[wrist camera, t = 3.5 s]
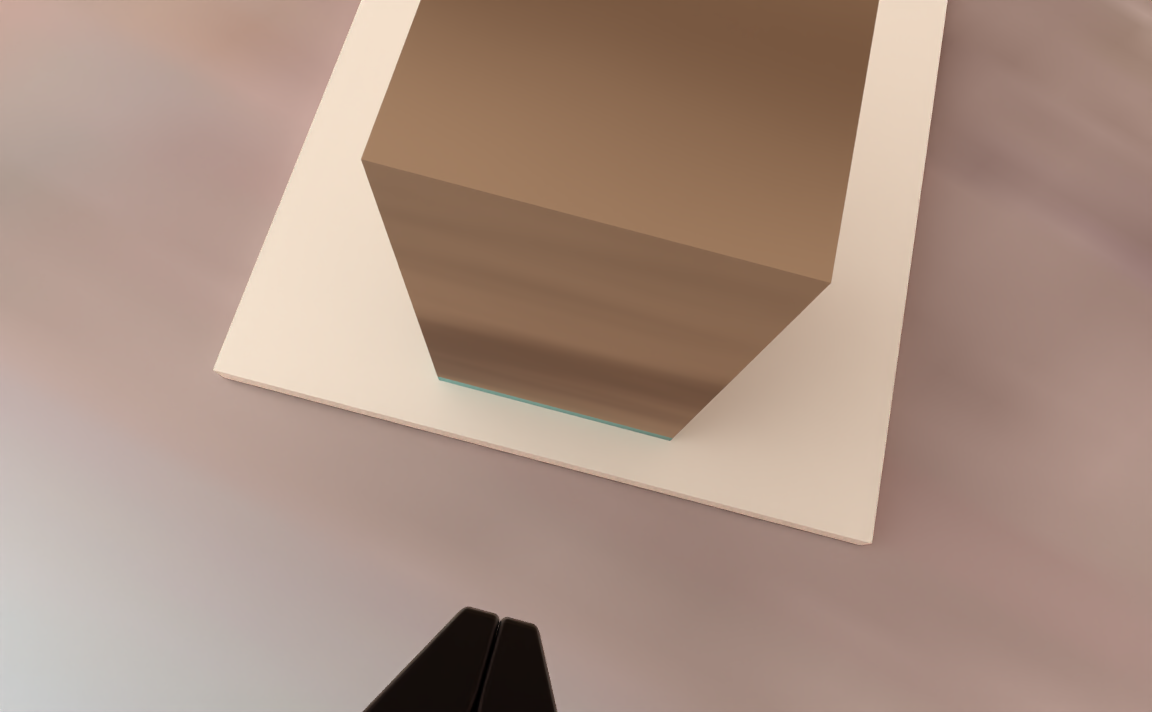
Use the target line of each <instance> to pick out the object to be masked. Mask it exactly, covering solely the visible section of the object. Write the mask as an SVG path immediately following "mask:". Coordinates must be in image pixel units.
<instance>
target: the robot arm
mask: <svg viewBox="0 0 1152 712" xmlns="http://www.w3.org/2000/svg"><path fill="white" fill-rule="evenodd" d="M498 626H499V627H498ZM497 629H498V630H497ZM496 633H497V634H496ZM363 712H557V708H556V704H555V699H554V695H553V690H552V686H551V682H550V677H549V673H548V668H547V664H546V659H545V655H544V650H543V646H542V641H541V637H540V633H539V630H538V628H537V626H536V625H534V624H532V623H528V622H524V621H521V620H517V619H513V618H509V617H505V618H503V619H502V620H501V621H500V623H499V617H498V616H497V615H496V614H494V613H491V612H487V611H483V610H480V609H476V608H472V607H465V608H463V609H462V610H460V611H459V612H458V613H457V614H456V615H455V616H454V617H453V618H452V619H451V621H450V622H449V623H448V624H447V625H446V626H445V627H444V628H443V629H442V630H441V631H440V632H439V633H438V634H437V635H436V636H435V637H434V638H433V639H432V640H431V641H430V642H429V643H428V644H427V645H426V646H425V647H424V649H423V650H422V651H421V652H420V653H419V654H418V655H417V656H416V657H415V658H414V659H413V660H412V661H411V662H410V663H409V664H408V665H407V666H406V667H405V668H404V669H403V670H402V671H401V672H400V673H399V674H398V675H397V676H396V678H395V679H394V680H393V681H392V682H391V683H390V684H389V685H388V686H387V687H386V688H385V689H384V690H383V691H382V692H381V693H380V694H379V695H378V696H377V697H376V698H375V699H374V700H373V701H372V702H371V703H370V704H369V706H368V707H367V708H366V709H365V710H364V711H363Z"/></svg>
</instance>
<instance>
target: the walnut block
mask: <svg viewBox="0 0 1152 712" xmlns="http://www.w3.org/2000/svg"><path fill="white" fill-rule="evenodd" d="M878 4H879V0H420V3H419V6H418V8H417V11H416V14H415V16H414V19H413V22H412V24H411V27H410V30H409V32H408V35H407V38H406V40H405V43H404V46H403V48H402V51H401V54H400V56H399V59H398V62H397V64H396V67H395V70H394V72H393V75H392V78H391V80H390V83H389V86H388V88H387V91H386V94H385V96H384V99H383V102H382V104H381V107H380V110H379V112H378V115H377V118H376V120H375V123H374V126H373V128H372V131H371V134H370V136H369V139H368V142H367V144H366V147H365V149H364V152H363V155H362V157H361V161H362V164H363V167H364V170H365V172H366V175H367V178H368V181H369V184H370V187H371V189H372V192H373V195H374V198H375V201H376V204H377V206H378V209H379V212H380V215H381V218H382V221H383V223H384V226H385V229H386V232H387V235H388V238H389V240H390V243H391V246H392V249H393V252H394V255H395V257H396V260H397V263H398V266H399V269H400V272H401V274H402V277H403V280H404V283H405V286H406V289H407V291H408V294H409V297H410V300H411V303H412V306H413V308H414V311H415V314H416V317H417V320H418V323H419V325H420V328H421V331H422V334H423V337H424V340H425V342H426V345H427V348H428V351H429V354H430V357H431V359H432V362H433V365H434V368H435V371H436V374H437V376H438V379H439V380H440V381H444V382H448V383H452V384H456V385H459V386H463V387H467V388H471V389H475V390H478V391H482V392H486V393H490V394H494V395H497V396H501V397H505V398H509V399H513V400H516V401H520V402H524V403H528V404H532V405H535V406H539V407H543V408H547V409H551V410H554V411H558V412H562V413H566V414H569V415H573V416H577V417H581V418H585V419H588V420H592V421H596V422H600V423H604V424H607V425H611V426H615V427H619V428H623V429H626V430H630V431H634V432H638V433H642V434H645V435H649V436H653V437H657V438H661V439H664V440H668V441H671V440H672V439H673V438H674V437H675V436H676V435H677V434H678V433H679V432H680V431H681V430H682V429H683V428H684V427H685V426H686V425H687V424H688V423H689V422H690V421H691V420H692V419H693V418H694V417H695V416H696V415H697V414H698V413H699V412H700V411H701V410H702V409H703V408H704V407H705V406H706V405H707V404H708V403H709V402H710V401H711V400H712V399H713V398H714V397H715V396H716V395H717V394H719V393H720V392H721V391H722V390H723V389H724V388H725V387H726V386H727V385H728V384H729V383H730V382H731V381H732V380H733V379H734V378H735V377H736V376H737V375H738V374H739V373H740V372H741V371H742V370H743V369H744V368H745V367H746V366H747V365H748V364H749V363H750V362H751V361H752V360H753V359H754V358H755V357H756V356H757V355H758V354H759V353H760V352H761V351H762V350H763V349H764V348H765V347H766V346H767V345H768V344H769V343H770V342H772V341H773V340H774V339H775V338H776V337H777V336H778V335H779V334H780V333H781V332H782V331H783V330H784V329H785V328H786V327H787V326H788V325H789V324H790V323H791V322H792V321H793V320H794V319H795V318H796V317H797V316H798V315H799V314H800V313H801V312H802V311H803V310H804V309H805V308H806V307H807V306H808V305H809V304H810V303H811V302H812V301H813V300H814V299H815V298H816V297H817V296H818V295H819V294H820V293H821V292H822V291H823V290H824V289H826V288H827V287H828V286H829V285H830V284H831V281H832V275H833V269H834V263H835V257H836V251H837V245H838V239H839V234H840V228H841V222H842V216H843V210H844V204H845V198H846V192H847V187H848V181H849V175H850V169H851V163H852V157H853V151H854V145H855V139H856V134H857V128H858V122H859V116H860V110H861V104H862V98H863V92H864V87H865V81H866V75H867V69H868V63H869V57H870V51H871V45H872V40H873V34H874V28H875V22H876V16H877V10H878Z"/></svg>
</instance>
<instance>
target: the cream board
mask: <svg viewBox="0 0 1152 712" xmlns="http://www.w3.org/2000/svg"><path fill="white" fill-rule="evenodd" d="M947 1H948V0H879V4H878V10H877V16H876V22H875V28H874V34H873V40H872V45H871V51H870V57H869V63H868V69H867V75H866V81H865V87H864V92H863V98H862V104H861V110H860V116H859V122H858V128H857V134H856V139H855V145H854V151H853V157H852V163H851V169H850V175H849V181H848V187H847V192H846V198H845V204H844V210H843V216H842V222H841V228H840V234H839V239H838V245H837V251H836V257H835V263H834V269H833V275H832V281H831V284H830V285H829V286H828V287H827V288H826V289H824V290H823V291H822V292H821V293H820V294H819V295H818V296H817V297H816V298H815V299H814V300H813V301H812V302H811V303H810V304H809V305H808V306H807V307H806V308H805V309H804V310H803V311H802V312H801V313H800V314H799V315H798V316H797V317H796V318H795V319H794V320H793V321H792V322H791V323H790V324H789V325H788V326H787V327H786V328H785V329H784V330H783V331H782V332H781V333H780V334H779V335H778V336H777V337H776V338H775V339H774V340H773V341H772V342H770V343H769V344H768V345H767V346H766V347H765V348H764V349H763V350H762V351H761V352H760V353H759V354H758V355H757V356H756V357H755V358H754V359H753V360H752V361H751V362H750V363H749V364H748V365H747V366H746V367H745V368H744V369H743V370H742V371H741V372H740V373H739V374H738V375H737V376H736V377H735V378H734V379H733V380H732V381H731V382H730V383H729V384H728V385H727V386H726V387H725V388H724V389H723V390H722V391H721V392H720V393H719V394H717V395H716V396H715V397H714V398H713V399H712V400H711V401H710V402H709V403H708V404H707V405H706V406H705V407H704V408H703V409H702V410H701V411H700V412H699V413H698V414H697V415H696V416H695V417H694V418H693V419H692V420H691V421H690V422H689V423H688V424H687V425H686V426H685V427H684V428H683V429H682V430H681V431H680V432H679V433H678V434H677V435H676V436H675V437H674V438H673V439H672V440H671V441H668V440H664V439H661V438H657V437H653V436H649V435H645V434H642V433H638V432H634V431H630V430H626V429H623V428H619V427H615V426H611V425H607V424H604V423H600V422H596V421H592V420H588V419H585V418H581V417H577V416H573V415H569V414H566V413H562V412H558V411H554V410H551V409H547V408H543V407H539V406H535V405H532V404H528V403H524V402H520V401H516V400H513V399H509V398H505V397H501V396H497V395H494V394H490V393H486V392H482V391H478V390H475V389H471V388H467V387H463V386H459V385H456V384H452V383H448V382H444V381H440V380H439V379H438V376H437V374H436V371H435V368H434V365H433V362H432V359H431V357H430V354H429V351H428V348H427V345H426V342H425V340H424V337H423V334H422V331H421V328H420V325H419V323H418V320H417V317H416V314H415V311H414V308H413V306H412V303H411V300H410V297H409V294H408V291H407V289H406V286H405V283H404V280H403V277H402V274H401V272H400V269H399V266H398V263H397V260H396V257H395V255H394V252H393V249H392V246H391V243H390V240H389V238H388V235H387V232H386V229H385V226H384V223H383V221H382V218H381V215H380V212H379V209H378V206H377V204H376V201H375V198H374V195H373V192H372V189H371V187H370V184H369V181H368V178H367V175H366V172H365V170H364V167H363V164H362V161H361V157H362V155H363V152H364V149H365V147H366V144H367V142H368V139H369V136H370V134H371V131H372V128H373V126H374V123H375V120H376V118H377V115H378V112H379V110H380V107H381V104H382V102H383V99H384V96H385V94H386V91H387V88H388V86H389V83H390V80H391V78H392V75H393V72H394V70H395V67H396V64H397V62H398V59H399V56H400V54H401V51H402V48H403V46H404V43H405V40H406V38H407V35H408V32H409V30H410V27H411V24H412V22H413V19H414V16H415V14H416V11H417V8H418V6H419V3H420V0H361V3H360V5H359V8H358V10H357V13H356V15H355V18H354V20H353V23H352V25H351V28H350V30H349V33H348V35H347V37H346V40H345V42H344V45H343V47H342V50H341V52H340V55H339V57H338V60H337V62H336V65H335V67H334V70H333V72H332V75H331V77H330V80H329V82H328V85H327V87H326V90H325V92H324V95H323V97H322V100H321V102H320V105H319V107H318V110H317V112H316V115H315V117H314V120H313V122H312V125H311V127H310V130H309V132H308V135H307V137H306V139H305V142H304V144H303V147H302V149H301V152H300V154H299V157H298V159H297V162H296V164H295V167H294V169H293V172H292V174H291V177H290V179H289V182H288V184H287V187H286V189H285V192H284V194H283V197H282V199H281V202H280V204H279V207H278V209H277V212H276V214H275V217H274V219H273V222H272V224H271V227H270V229H269V232H268V234H267V236H266V239H265V241H264V244H263V246H262V249H261V251H260V254H259V256H258V259H257V261H256V264H255V266H254V269H253V271H252V274H251V276H250V279H249V281H248V284H247V286H246V289H245V291H244V294H243V296H242V299H241V301H240V304H239V306H238V309H237V311H236V314H235V316H234V319H233V321H232V324H231V326H230V329H229V331H228V334H227V336H226V338H225V341H224V343H223V346H222V348H221V351H220V353H219V356H218V358H217V361H216V363H215V366H214V368H213V370H214V371H215V372H216V373H218V374H219V375H220V376H222V377H224V378H227V379H231V380H235V381H239V382H243V383H246V384H250V385H254V386H258V387H262V388H265V389H269V390H273V391H277V392H281V393H284V394H288V395H292V396H296V397H299V398H303V399H307V400H311V401H315V402H318V403H322V404H326V405H330V406H334V407H337V408H341V409H345V410H349V411H353V412H356V413H360V414H364V415H368V416H372V417H375V418H379V419H383V420H387V421H391V422H394V423H398V424H402V425H406V426H409V427H413V428H417V429H421V430H425V431H428V432H432V433H436V434H440V435H444V436H447V437H451V438H455V439H459V440H463V441H466V442H470V443H474V444H478V445H482V446H485V447H489V448H493V449H497V450H501V451H504V452H508V453H512V454H516V455H519V456H523V457H527V458H531V459H535V460H538V461H542V462H546V463H550V464H554V465H557V466H561V467H565V468H569V469H573V470H576V471H580V472H584V473H588V474H592V475H595V476H599V477H603V478H607V479H611V480H614V481H618V482H622V483H626V484H629V485H633V486H637V487H641V488H645V489H648V490H652V491H656V492H660V493H664V494H667V495H671V496H675V497H679V498H683V499H686V500H690V501H694V502H698V503H702V504H705V505H709V506H713V507H717V508H721V509H724V510H728V511H732V512H736V513H739V514H743V515H747V516H751V517H755V518H758V519H762V520H766V521H770V522H774V523H777V524H781V525H785V526H789V527H793V528H796V529H800V530H804V531H808V532H812V533H815V534H819V535H823V536H827V537H831V538H834V539H838V540H842V541H846V542H849V543H853V544H857V545H865V544H872V539H873V532H874V525H875V518H876V511H877V503H878V496H879V489H880V482H881V475H882V467H883V460H884V453H885V446H886V439H887V432H888V424H889V417H890V410H891V403H892V396H893V389H894V381H895V374H896V367H897V360H898V353H899V346H900V338H901V331H902V324H903V317H904V310H905V302H906V295H907V288H908V281H909V274H910V267H911V259H912V252H913V245H914V238H915V231H916V224H917V216H918V209H919V202H920V195H921V188H922V180H923V173H924V166H925V159H926V152H927V145H928V137H929V130H930V123H931V116H932V109H933V102H934V94H935V87H936V80H937V73H938V66H939V59H940V51H941V44H942V37H943V30H944V23H945V15H946V8H947Z"/></svg>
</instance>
